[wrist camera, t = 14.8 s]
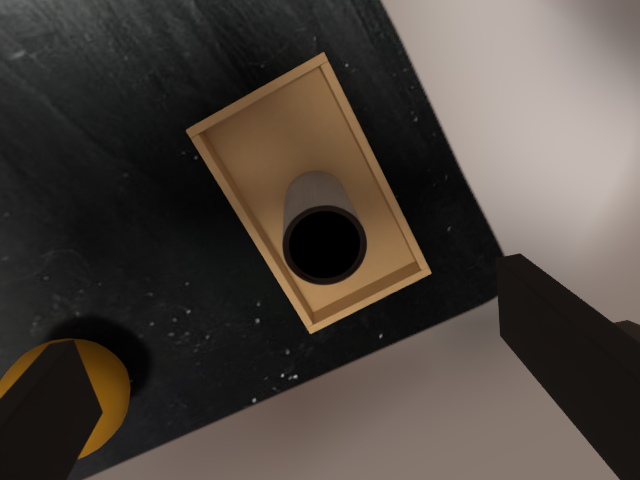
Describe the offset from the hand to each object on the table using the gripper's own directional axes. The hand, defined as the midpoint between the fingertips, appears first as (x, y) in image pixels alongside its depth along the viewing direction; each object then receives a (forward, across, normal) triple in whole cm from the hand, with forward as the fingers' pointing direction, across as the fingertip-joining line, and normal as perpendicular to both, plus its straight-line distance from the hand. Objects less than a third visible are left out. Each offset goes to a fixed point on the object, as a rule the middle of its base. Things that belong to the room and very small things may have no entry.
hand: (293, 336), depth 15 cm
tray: (+21, +2, -1) cm, 22 cm away
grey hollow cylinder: (+21, +2, -1) cm, 21 cm away
